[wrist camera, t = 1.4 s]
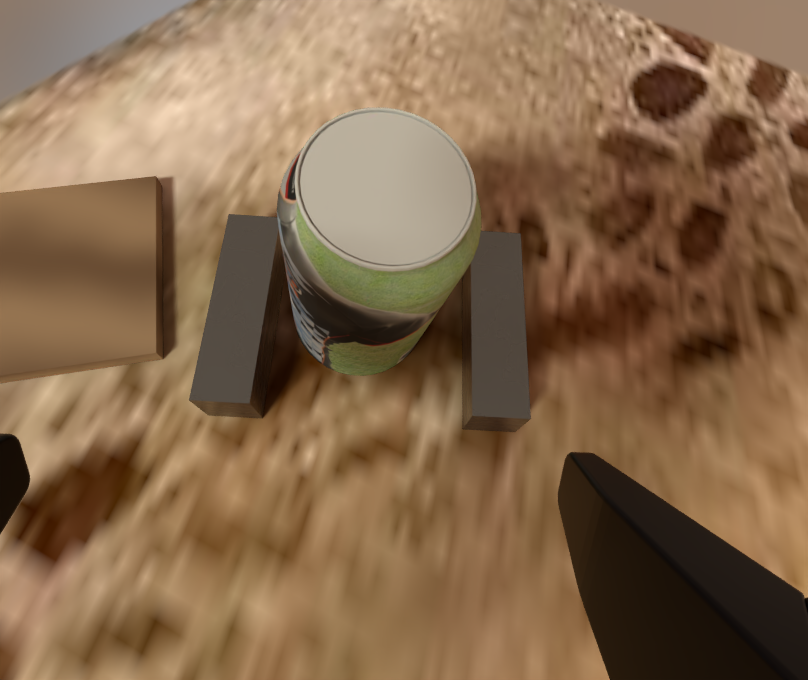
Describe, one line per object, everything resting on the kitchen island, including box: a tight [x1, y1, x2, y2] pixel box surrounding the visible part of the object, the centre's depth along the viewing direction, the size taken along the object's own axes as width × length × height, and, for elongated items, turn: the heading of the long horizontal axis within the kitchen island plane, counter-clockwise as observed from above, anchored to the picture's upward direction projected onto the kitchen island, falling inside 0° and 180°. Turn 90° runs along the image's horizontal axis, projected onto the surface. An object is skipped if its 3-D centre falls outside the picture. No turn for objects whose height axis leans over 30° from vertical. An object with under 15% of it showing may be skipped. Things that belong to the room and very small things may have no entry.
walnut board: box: [0, 176, 163, 383], centre depth 24 cm, size 10×10×1 cm
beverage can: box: [277, 107, 481, 376], centre depth 19 cm, size 6×7×12 cm
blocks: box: [189, 214, 531, 432], centre depth 23 cm, size 9×14×2 cm, turn 88°
